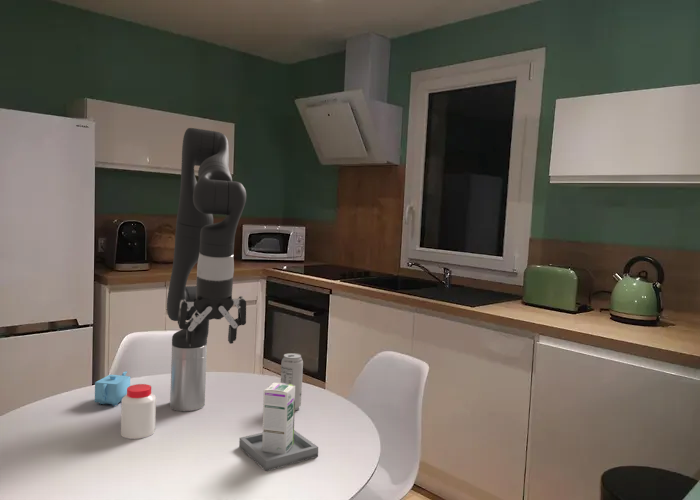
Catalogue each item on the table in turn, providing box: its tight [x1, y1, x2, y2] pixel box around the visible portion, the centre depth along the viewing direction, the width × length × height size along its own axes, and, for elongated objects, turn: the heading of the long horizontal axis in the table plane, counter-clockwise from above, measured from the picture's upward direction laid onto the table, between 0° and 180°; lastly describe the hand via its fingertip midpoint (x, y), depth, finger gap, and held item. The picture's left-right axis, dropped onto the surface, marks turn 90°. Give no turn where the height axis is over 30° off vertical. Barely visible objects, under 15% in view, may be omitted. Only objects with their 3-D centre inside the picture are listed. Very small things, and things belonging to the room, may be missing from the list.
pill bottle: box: [120, 383, 157, 440], centre depth 126 cm, size 8×8×11 cm
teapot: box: [94, 370, 131, 407], centre depth 145 cm, size 12×6×8 cm, turn 173°
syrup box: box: [262, 381, 296, 455], centre depth 119 cm, size 6×6×14 cm
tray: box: [238, 429, 319, 472], centre depth 120 cm, size 13×13×2 cm
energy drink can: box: [280, 352, 304, 411], centre depth 147 cm, size 6×6×15 cm
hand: (211, 343), depth 115 cm, fingers open, 8 cm apart
